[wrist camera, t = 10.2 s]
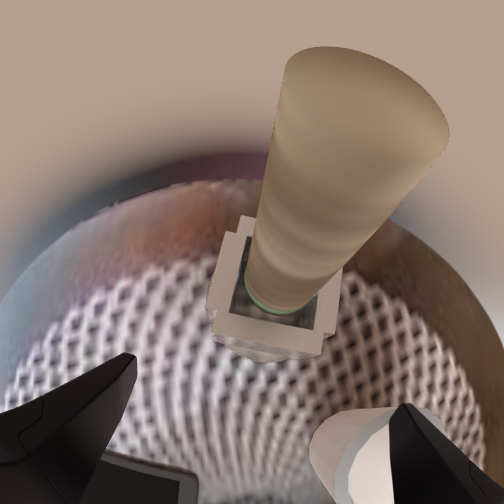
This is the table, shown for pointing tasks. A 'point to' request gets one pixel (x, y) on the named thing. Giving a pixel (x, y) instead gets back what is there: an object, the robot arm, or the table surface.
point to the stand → (258, 322)
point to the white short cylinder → (357, 454)
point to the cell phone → (138, 483)
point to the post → (335, 169)
